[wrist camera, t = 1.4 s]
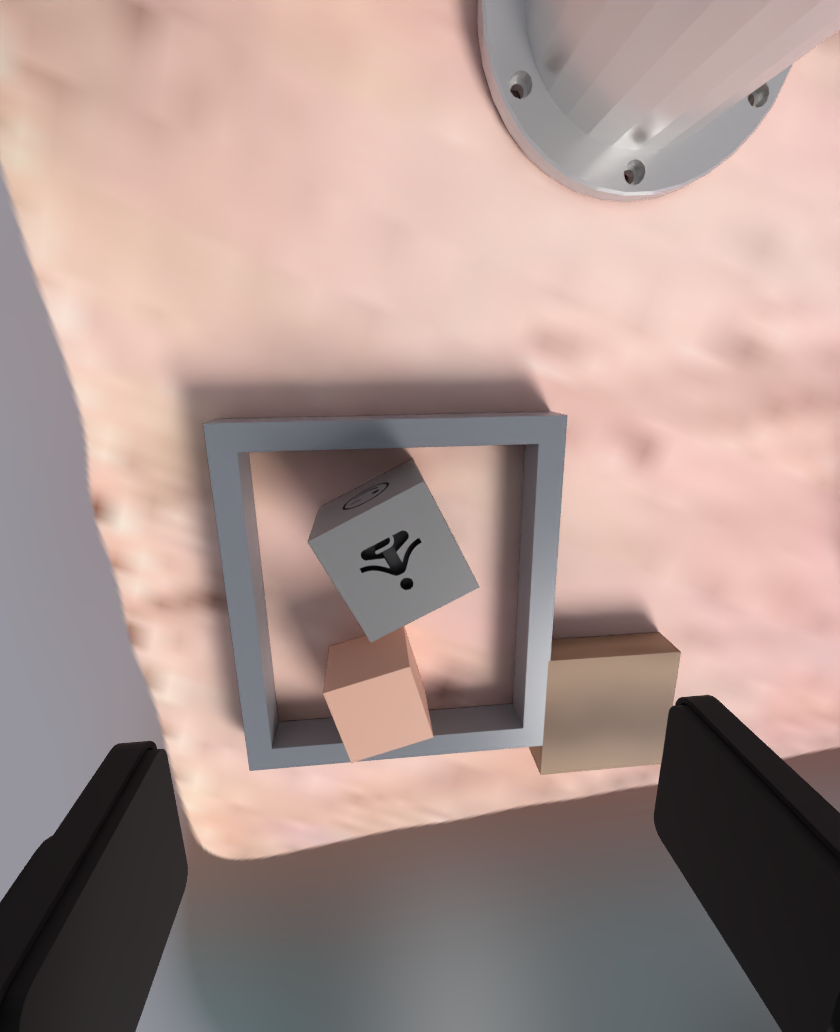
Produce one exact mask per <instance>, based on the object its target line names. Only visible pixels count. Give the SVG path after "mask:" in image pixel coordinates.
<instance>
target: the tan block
mask: <svg viewBox="0 0 840 1032" xmlns="http://www.w3.org/2000/svg"><path fill="white" fill-rule="evenodd" d="M680 654H681V652H680V651H679V650H678V649H677V648H676V647H675V646H674V645H673V644H672V643H671V642H669V641H668V640H667V639H666V638H665V637H664V636H663V635H662V634H661V633H659V632H656V633H641V634H626V635H611V636H595V637H580V638H565V639H552V644H551V658H550V661H548V674H547V689H546V703H545V718H544V733H543V746H533V747H529V749H530V751H531V753H532V756H533V758H534V760H535V763H536V765H537V768H538V770H539V772H540V775H544V774H555V773H566V772H577V771H588V770H599V769H610V768H621V767H632V766H643V765H654V764H661V762H662V755H663V748H664V741H665V734H666V727H667V720H668V713H669V709H670V708H671V707H672V706H673V700H674V694H675V687H676V681H677V674H678V668H679V661H680Z"/></svg>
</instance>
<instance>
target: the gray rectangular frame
mask: <svg viewBox="0 0 840 1032" xmlns="http://www.w3.org/2000/svg"><path fill="white" fill-rule="evenodd" d="M566 427H567V415H564V414H560V413H555V412H506V413H461V414H416V415H371V416H326V417H281V418H237V419H215V420H212V421H210V422H207V423H204V424H203V428H204V435H205V442H206V450H207V457H208V465H209V472H210V480H211V487H212V495H213V502H214V509H215V517H216V524H217V532H218V539H219V547H220V554H221V562H222V569H223V576H224V584H225V591H226V599H227V606H228V614H229V621H230V629H231V636H232V643H233V651H234V658H235V666H236V673H237V681H238V688H239V696H240V703H241V710H242V718H243V725H244V733H245V740H246V748H247V755H248V763H249V770H250V771H253V770H264V769H276V768H288V767H299V766H311V765H323V764H335V763H346V762H351V761H350V758H349V756H348V753H347V751H346V749H345V746H344V744H343V741H342V739H341V736H340V734H339V731H338V729H337V727H336V724H335V722H334V719H333V718H322V719H309V720H296V721H283V722H279V721H278V712H277V703H276V694H275V685H274V676H273V667H272V658H271V649H270V640H269V631H268V622H267V613H266V604H265V595H264V586H263V576H262V567H261V558H260V549H259V540H258V531H257V522H256V513H255V504H254V495H253V486H252V477H251V468H250V459H249V452H270V451H305V450H340V449H375V448H411V447H446V446H481V445H516V444H525V449H524V471H523V492H522V514H521V535H520V557H519V579H518V600H517V622H516V643H515V665H514V687H513V704H503V705H490V706H477V707H464V708H451V709H438V710H429V715H430V721H431V726H432V732H433V738H430V739H427V740H424V741H420V742H417V743H414V744H411V745H408V746H404V747H401V748H398V749H395V750H391V751H388V752H385V753H382V754H379V755H375V756H372V757H369V758H366V759H363V760H359V761H370V760H381V759H393V758H405V757H416V756H428V755H440V754H451V753H463V752H475V751H486V750H498V749H510V748H521V747H533V746H543V733H544V718H545V703H546V689H547V674H548V661H550V658H551V644H552V629H553V615H554V600H555V586H556V572H557V557H558V543H559V528H560V514H561V499H562V485H563V471H564V456H565V442H566ZM356 762H358V761H356Z"/></svg>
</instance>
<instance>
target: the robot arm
mask: <svg viewBox="0 0 840 1032" xmlns="http://www.w3.org/2000/svg"><path fill="white" fill-rule="evenodd" d="M477 29H478V36H479V44H480V51H481V58H482V66H483V69H484V72H485V75H486V79H487V82H488V85H489V89H490V92H491V95H492V99H493V101H494V103H495V105H496V107H497V109H498V111H499V114H500V116H501V118H502V120H503V122H504V124H505V126H506V128H507V130H508V132H509V133H510V134H511V136H512V137H513V138H514V140H515V141H516V142H517V144H518V145H519V146H520V148H521V149H522V150H523V152H524V153H525V154H526V156H527V157H528V158H529V159H530V160H531V161H532V162H533V163H534V164H536V165H537V166H538V167H539V168H540V169H541V170H542V171H543V172H544V173H546V174H547V175H548V176H549V177H550V178H552V179H553V180H555V181H557V182H558V183H560V184H562V185H564V186H565V187H567V188H569V189H571V190H572V191H574V192H576V193H580V194H583V195H586V196H589V197H593V198H596V199H599V200H605V201H618V202H634V201H640V200H647V199H653V198H658V197H660V196H663V195H665V194H668V193H671V192H673V191H676V190H679V189H681V188H683V187H685V186H687V185H688V184H690V183H692V182H694V181H695V180H697V179H699V178H701V177H703V176H705V175H706V174H708V173H709V172H711V171H712V170H713V169H715V168H716V167H717V166H719V165H720V164H721V163H722V162H724V161H725V160H726V159H728V158H729V157H730V156H732V155H733V154H734V153H735V152H736V151H737V150H738V149H739V147H740V146H741V145H742V144H743V143H744V142H745V141H746V140H747V139H748V138H749V137H750V136H751V135H752V133H753V132H754V131H755V130H756V129H757V128H758V126H759V125H760V123H761V122H762V120H763V119H764V118H765V116H766V115H767V113H768V112H769V110H770V109H771V107H772V106H773V104H774V102H775V101H776V99H777V97H778V94H779V92H780V90H781V88H782V86H783V84H784V82H785V80H786V78H787V75H788V73H789V71H790V69H791V67H792V64H793V63H794V62H796V61H797V60H798V59H800V58H801V57H802V56H804V55H805V54H807V53H808V52H809V51H811V50H812V49H814V48H815V47H816V46H818V45H819V44H821V43H822V42H823V41H825V40H826V39H828V38H829V37H830V36H832V35H833V34H835V33H836V32H837V31H839V30H840V0H478V11H477ZM512 90H515V91H517V92H518V93H519V94H520V99H519V98H516V97H514V96H513V94H512V93H511V92H510V91H512ZM624 174H625V175H627V177H628V180H629V182H628V183H627V181H626V180H625V177H624ZM654 823H655V827H656V830H657V833H658V835H659V837H660V839H661V841H662V842H663V844H664V845H665V847H666V848H667V850H668V852H669V853H670V855H671V856H672V858H673V860H674V861H675V863H676V864H677V865H678V867H679V869H680V871H681V872H682V874H683V875H684V877H685V879H686V880H687V882H688V883H689V885H690V886H691V888H692V890H693V891H694V893H695V894H696V896H697V898H698V899H699V901H700V902H701V904H702V905H703V907H704V908H705V910H706V911H707V913H708V915H709V916H710V918H711V920H712V921H713V923H714V924H715V926H716V927H717V929H718V931H719V932H720V934H721V935H722V937H723V938H724V940H725V942H726V943H727V945H728V947H729V948H730V950H731V951H732V953H733V954H734V956H735V958H736V959H737V961H738V962H739V964H740V965H741V967H742V969H743V970H744V972H745V973H746V975H747V976H748V978H749V980H750V981H751V983H752V984H753V986H754V988H755V989H756V991H757V992H758V994H759V996H760V997H761V999H762V1000H763V1002H764V1003H765V1005H766V1006H767V1008H768V1010H769V1011H770V1013H771V1014H772V1016H773V1018H774V1019H775V1021H776V1022H777V1024H778V1026H779V1027H780V1029H781V1030H782V1032H840V813H839V812H838V811H837V810H836V809H835V808H834V807H833V806H832V805H830V804H829V803H828V802H827V801H826V800H825V799H824V798H823V797H822V796H821V795H820V794H819V793H818V792H816V791H815V790H814V789H813V788H812V787H811V786H810V785H809V784H808V783H807V782H806V781H804V779H802V778H801V777H800V776H799V775H798V774H797V773H796V772H795V771H794V770H793V769H792V768H791V767H790V766H788V765H787V764H786V763H785V762H784V761H783V760H782V759H781V758H780V757H779V756H778V755H777V754H776V753H774V752H773V751H772V750H771V749H770V748H769V747H768V746H767V745H766V744H765V743H764V742H763V741H762V740H760V739H759V738H758V737H757V736H756V735H755V734H754V733H753V732H752V731H751V730H750V729H749V728H748V727H746V726H745V725H744V724H743V723H742V722H741V721H740V720H739V719H738V718H737V717H736V716H735V715H734V714H732V713H731V712H730V711H729V710H728V709H727V708H726V707H725V706H724V705H723V704H722V703H721V702H720V701H718V700H717V699H716V698H715V697H713V696H710V695H703V696H691V697H681V698H679V699H678V700H677V701H676V705H675V706H672V707H671V708H670V709H669V713H668V720H667V727H666V734H665V741H664V748H663V755H662V762H661V769H660V776H659V783H658V790H657V797H656V804H655V811H654ZM187 874H188V866H187V860H186V854H185V849H184V844H183V839H182V832H181V827H180V822H179V816H178V811H177V806H176V800H175V795H174V790H173V784H172V779H171V773H170V768H169V763H168V757H167V753H166V751H165V750H164V749H157V747H156V744H155V743H154V742H152V741H146V742H145V741H144V742H132V743H121V744H117V745H115V746H114V747H113V748H112V749H111V750H110V752H109V753H108V755H107V756H106V758H105V759H104V761H103V762H102V764H101V765H100V767H99V768H98V770H97V771H96V773H95V774H94V776H93V777H92V779H91V780H90V781H89V783H88V785H87V786H86V787H85V789H84V790H83V792H82V793H81V795H80V796H79V798H78V799H77V801H76V802H75V804H74V805H73V807H72V808H71V810H70V811H69V813H68V814H67V816H66V817H65V819H64V820H63V822H62V823H61V825H60V826H59V828H58V829H57V830H56V832H55V833H54V835H53V836H51V837H49V838H48V839H46V840H45V841H44V842H43V843H42V844H41V845H40V847H39V848H38V849H37V850H36V852H35V853H34V854H33V856H32V857H31V859H30V860H29V862H28V863H27V865H26V866H25V867H24V869H23V870H22V872H21V873H20V875H19V876H18V877H17V879H16V880H15V882H14V883H13V885H12V886H11V888H10V889H9V890H8V892H7V894H6V895H5V897H4V898H3V899H2V901H1V902H0V1032H135V1031H136V1028H137V1025H138V1022H139V1019H140V1016H141V1014H142V1011H143V1008H144V1005H145V1002H146V999H147V997H148V994H149V991H150V988H151V985H152V982H153V979H154V977H155V973H156V971H157V968H158V965H159V962H160V959H161V957H162V953H163V951H164V948H165V945H166V942H167V939H168V936H169V934H170V931H171V928H172V925H173V922H174V919H175V916H176V914H177V910H178V908H179V905H180V902H181V899H182V896H183V893H184V890H185V887H186V882H187Z"/></svg>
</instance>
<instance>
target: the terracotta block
mask: <svg viewBox="0 0 840 1032" xmlns="http://www.w3.org/2000/svg"><path fill="white" fill-rule="evenodd" d="M323 695H324V697H325V700H326V702H327V704H328V707H329V709H330V712H331V714H332V717H333V719H334V722H335V724H336V727H337V729H338V731H339V734H340V736H341V739H342V741H343V744H344V746H345V749H346V751H347V753H348V756H349V758H350V761H351V763H353V762H356V761H359V760H363V759H366V758H369V757H372V756H375V755H379V754H382V753H385V752H388V751H391V750H395V749H398V748H401V747H404V746H408V745H411V744H414V743H417V742H420V741H424V740H427V739H430V738H433V732H432V726H431V721H430V715H429V710H428V705H427V699H426V694H425V688H424V684H423V681H422V678H421V675H420V672H419V669H418V666H417V663H416V660H415V657H414V654H413V651H412V648H411V645H410V642H409V639H408V636H407V633H406V630H405V627H404V626H403V627H401V628H399V629H397V630H395V631H393V632H391V633H389V634H387V635H385V636H383V637H381V638H379V639H377V640H375V641H373V642H370V641H369V639H368V637H367V636H366V635H365V636H362V637H358V638H355V639H352V640H349V641H345V642H342V643H339V644H336V645H332V646H329V652H328V660H327V667H326V675H325V683H324V690H323Z"/></svg>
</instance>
